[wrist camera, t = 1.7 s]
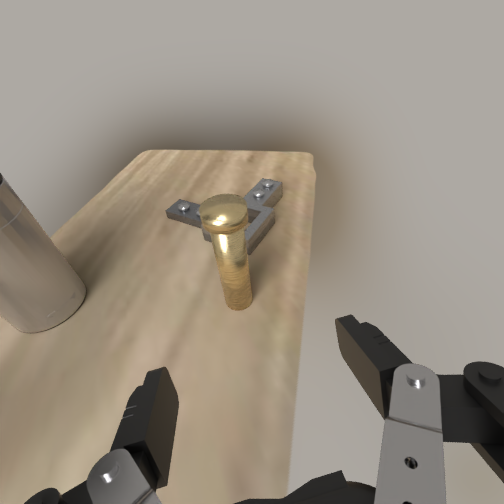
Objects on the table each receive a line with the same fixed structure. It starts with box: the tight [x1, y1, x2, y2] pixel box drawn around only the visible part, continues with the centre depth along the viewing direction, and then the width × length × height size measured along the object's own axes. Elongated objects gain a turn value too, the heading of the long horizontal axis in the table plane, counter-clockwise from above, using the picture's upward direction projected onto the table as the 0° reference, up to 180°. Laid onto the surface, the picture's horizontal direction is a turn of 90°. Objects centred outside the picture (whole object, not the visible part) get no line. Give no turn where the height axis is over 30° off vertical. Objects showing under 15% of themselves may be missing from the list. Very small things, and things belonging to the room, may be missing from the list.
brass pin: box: [199, 194, 252, 310], centre depth 32 cm, size 5×5×14 cm
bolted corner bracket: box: [166, 178, 282, 255], centre depth 50 cm, size 18×16×4 cm
